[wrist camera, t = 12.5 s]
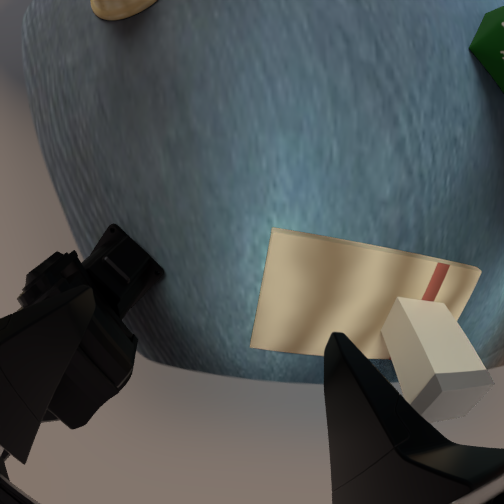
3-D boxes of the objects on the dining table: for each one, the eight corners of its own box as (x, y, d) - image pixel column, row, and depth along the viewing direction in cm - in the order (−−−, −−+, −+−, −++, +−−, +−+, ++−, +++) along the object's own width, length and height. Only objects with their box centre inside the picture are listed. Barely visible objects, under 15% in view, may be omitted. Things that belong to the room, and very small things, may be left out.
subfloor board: (250, 340, 27) (249, 348, 26) (272, 227, 21) (271, 232, 20) (430, 353, 26) (433, 359, 25) (476, 267, 21) (482, 272, 20)
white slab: (380, 330, 24) (410, 425, 14) (396, 296, 22) (442, 391, 12) (427, 334, 24) (464, 416, 14) (444, 302, 22) (494, 383, 12)
